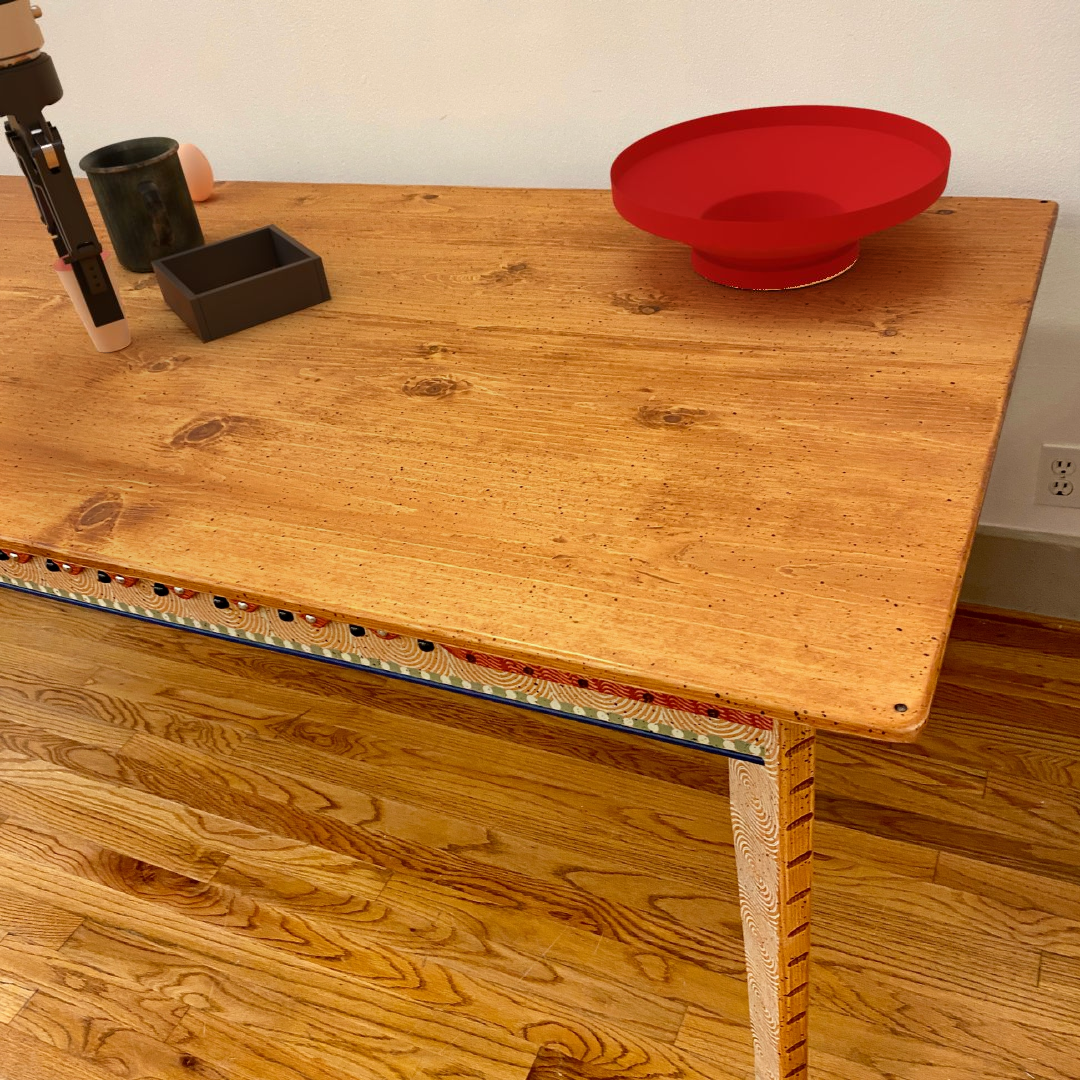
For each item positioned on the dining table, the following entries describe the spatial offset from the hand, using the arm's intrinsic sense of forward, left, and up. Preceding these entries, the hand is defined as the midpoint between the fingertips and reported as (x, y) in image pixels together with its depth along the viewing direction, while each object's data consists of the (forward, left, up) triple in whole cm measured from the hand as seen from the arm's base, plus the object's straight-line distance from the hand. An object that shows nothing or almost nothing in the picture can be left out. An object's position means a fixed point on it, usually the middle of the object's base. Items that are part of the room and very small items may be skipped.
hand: (100, 309), depth 105 cm
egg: (+21, +37, -4) cm, 43 cm away
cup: (0, 0, -4) cm, 4 cm away
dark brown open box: (+14, 0, -4) cm, 15 cm away
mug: (+11, +19, -4) cm, 22 cm away
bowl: (+57, -32, -4) cm, 66 cm away
